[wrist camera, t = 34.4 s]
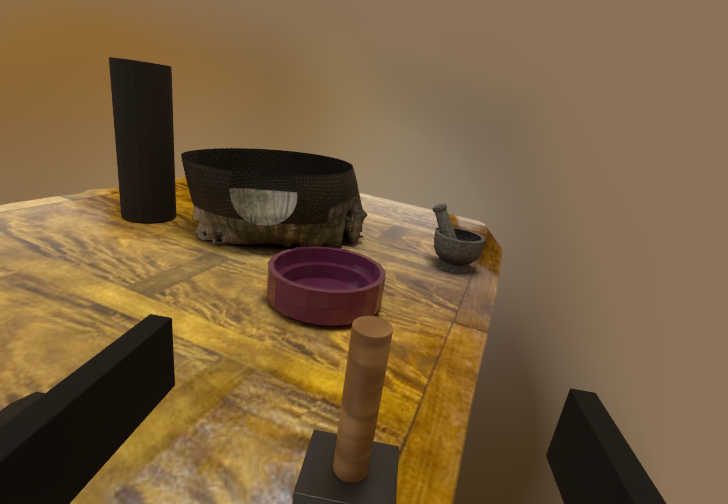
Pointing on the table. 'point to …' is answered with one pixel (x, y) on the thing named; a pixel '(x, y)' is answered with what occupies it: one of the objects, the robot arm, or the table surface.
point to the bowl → (324, 285)
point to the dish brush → (354, 431)
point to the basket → (273, 197)
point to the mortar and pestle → (455, 244)
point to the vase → (144, 139)
